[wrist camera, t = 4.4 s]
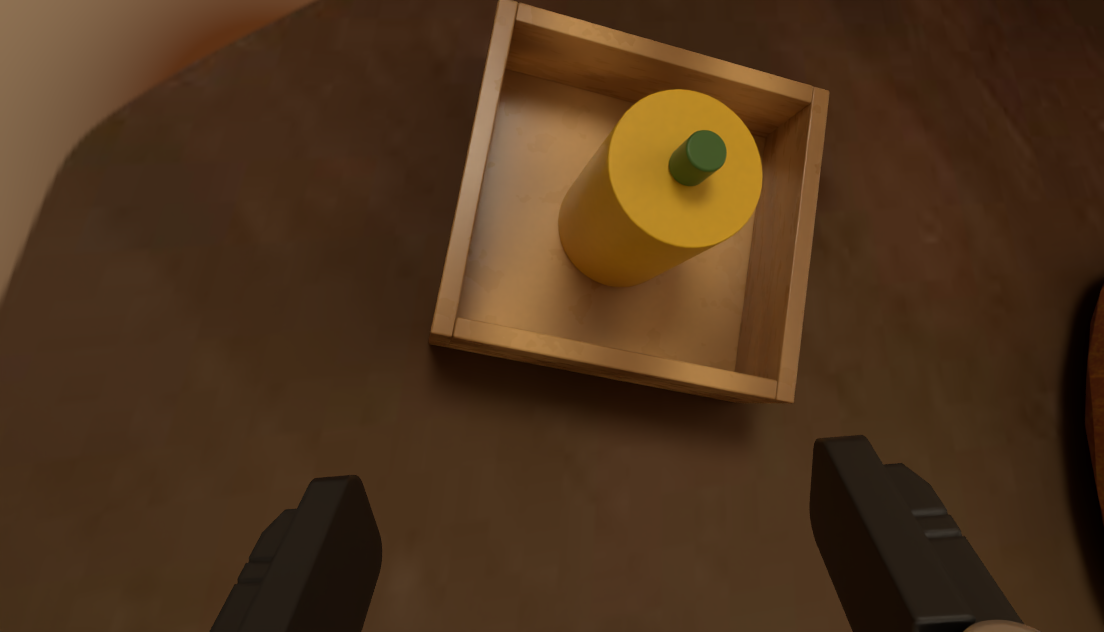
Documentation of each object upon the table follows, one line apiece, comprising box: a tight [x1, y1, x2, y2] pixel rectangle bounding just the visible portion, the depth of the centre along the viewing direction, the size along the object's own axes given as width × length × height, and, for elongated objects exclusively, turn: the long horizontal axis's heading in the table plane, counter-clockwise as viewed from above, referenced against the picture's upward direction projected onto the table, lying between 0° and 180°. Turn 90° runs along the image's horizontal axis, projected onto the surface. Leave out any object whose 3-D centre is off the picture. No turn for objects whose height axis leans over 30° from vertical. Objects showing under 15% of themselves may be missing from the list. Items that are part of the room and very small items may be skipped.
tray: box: [428, 0, 830, 403], centre depth 29 cm, size 15×14×5 cm
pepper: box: [558, 89, 763, 287], centre depth 26 cm, size 6×6×10 cm
